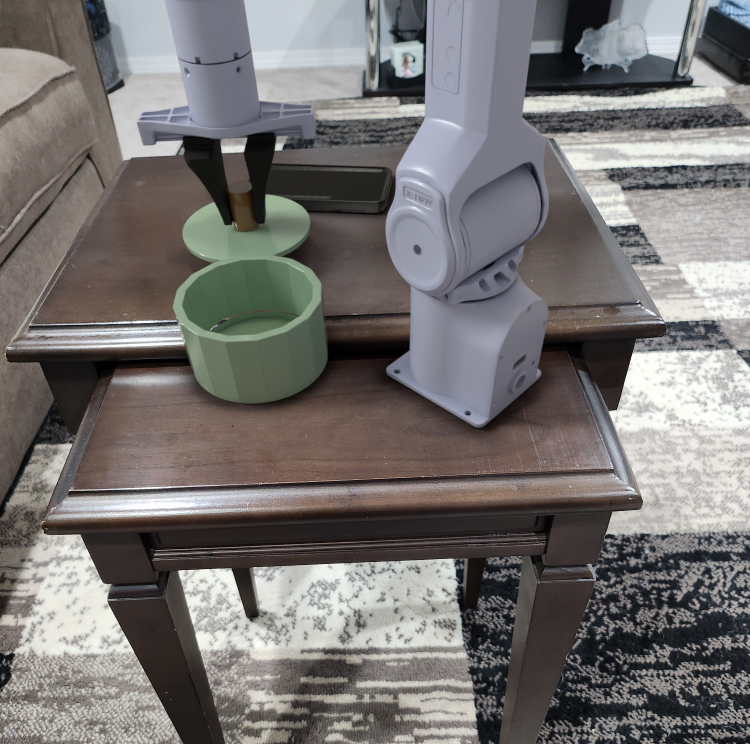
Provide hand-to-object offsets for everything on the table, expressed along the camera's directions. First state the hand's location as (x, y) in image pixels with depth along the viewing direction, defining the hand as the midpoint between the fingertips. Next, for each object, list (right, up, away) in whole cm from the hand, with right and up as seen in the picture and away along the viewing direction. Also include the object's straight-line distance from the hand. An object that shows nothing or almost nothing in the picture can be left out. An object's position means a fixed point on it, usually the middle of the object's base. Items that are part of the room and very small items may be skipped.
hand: (245, 219), depth 62 cm
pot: (+3, -15, -8) cm, 17 cm away
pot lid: (0, -1, +1) cm, 1 cm away
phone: (+6, +7, +9) cm, 13 cm away
